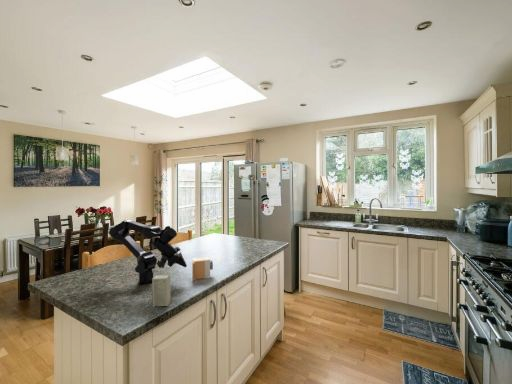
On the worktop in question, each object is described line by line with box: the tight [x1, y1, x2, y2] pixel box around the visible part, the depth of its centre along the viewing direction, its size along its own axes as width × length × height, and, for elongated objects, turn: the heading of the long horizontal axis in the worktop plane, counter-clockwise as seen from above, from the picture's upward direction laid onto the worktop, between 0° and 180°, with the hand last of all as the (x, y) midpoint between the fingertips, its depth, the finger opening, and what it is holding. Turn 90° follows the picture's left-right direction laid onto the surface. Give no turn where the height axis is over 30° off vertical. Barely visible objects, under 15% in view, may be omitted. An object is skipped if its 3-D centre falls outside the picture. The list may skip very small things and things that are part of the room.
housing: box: [192, 256, 214, 279], centre depth 137 cm, size 10×6×10 cm, turn 106°
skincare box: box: [151, 274, 171, 308], centre depth 104 cm, size 6×4×12 cm
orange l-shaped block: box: [191, 260, 206, 282], centre depth 132 cm, size 6×4×10 cm, turn 106°
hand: (186, 266), depth 129 cm, fingers closed
